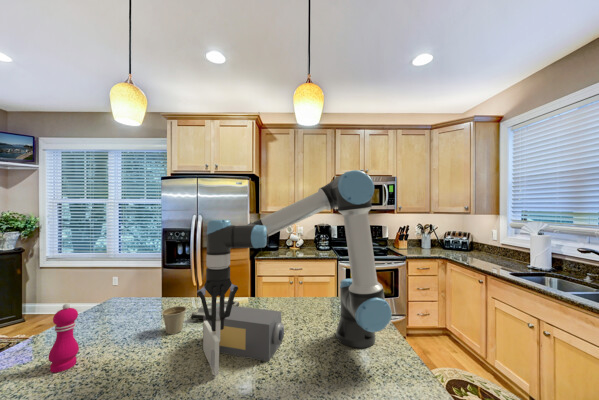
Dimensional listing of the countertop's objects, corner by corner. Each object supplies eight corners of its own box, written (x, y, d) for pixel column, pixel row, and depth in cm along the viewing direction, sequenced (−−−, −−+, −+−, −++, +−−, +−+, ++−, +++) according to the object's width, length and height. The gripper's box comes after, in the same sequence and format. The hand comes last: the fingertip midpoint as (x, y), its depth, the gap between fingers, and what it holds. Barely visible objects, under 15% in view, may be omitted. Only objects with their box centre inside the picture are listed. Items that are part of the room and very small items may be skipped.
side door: (218, 374, 76) (219, 340, 76) (211, 377, 74) (212, 342, 75) (206, 348, 90) (207, 320, 90) (200, 350, 89) (201, 321, 89)
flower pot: (164, 339, 99) (164, 316, 99) (159, 330, 106) (159, 309, 107) (189, 331, 105) (189, 310, 105) (182, 324, 112) (183, 304, 113)
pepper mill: (75, 357, 86) (78, 298, 87) (80, 365, 82) (83, 303, 83) (46, 367, 81) (49, 304, 82) (49, 377, 76) (52, 309, 77)
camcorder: (236, 320, 116) (236, 309, 117) (190, 323, 113) (190, 311, 113) (239, 307, 132) (239, 297, 133) (198, 310, 129) (198, 299, 129)
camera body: (287, 344, 95) (287, 309, 96) (275, 362, 83) (276, 323, 84) (221, 334, 103) (222, 302, 103) (202, 349, 91) (203, 313, 92)
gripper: (236, 262, 88) (235, 331, 87) (196, 266, 83) (195, 339, 82) (240, 267, 82) (239, 341, 80) (197, 271, 76) (196, 350, 75)
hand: (217, 340), depth 81 cm, fingers closed
